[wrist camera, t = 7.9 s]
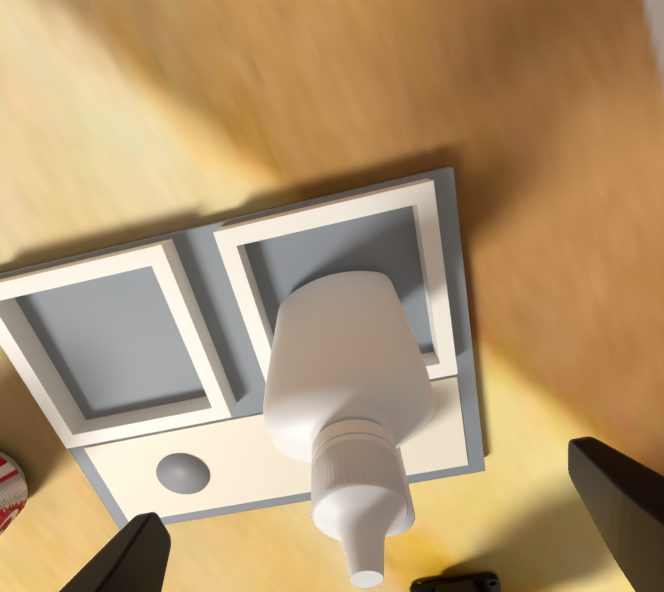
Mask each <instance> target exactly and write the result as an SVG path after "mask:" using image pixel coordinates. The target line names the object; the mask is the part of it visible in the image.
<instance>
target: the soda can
mask: <svg viewBox="0 0 664 592" xmlns="http://www.w3.org/2000/svg"><path fill="white" fill-rule="evenodd" d="M27 498H28V489H27V485H26V478H25V475H24V473H23V471H22V469H21V468H20V466H19V465H18V464H17V463H16V462H15V461H14V460H13V459H12V458H11V457H9V456H8V455H6V454H5V453H3V452H1V451H0V535H1V534H2V533H3V531H4V530H5V529H6V528H7V527H8V526H9V524H10V523H11V522H12V521H13V520H14V519H15V517H16V516H17V515H18V514H19V513H20V512H21V510H22V509H23V508H24V506H25V504H26V501H27Z"/></svg>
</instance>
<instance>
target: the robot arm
mask: <svg viewBox="0 0 664 592" xmlns="http://www.w3.org/2000/svg"><path fill="white" fill-rule="evenodd" d="M568 471H569V475H570V477H571V480H572V482H573V484H574V486H575V487H576V489H577V491H578V493H579V495H580V497H581V499H582V500H583V502H584V504H585V506H586V508H587V510H588V511H589V513H590V515H591V517H592V519H593V521H594V522H595V524H596V526H597V528H598V530H599V532H600V533H601V535H602V537H603V539H604V541H605V543H606V544H607V546H608V548H609V550H610V552H611V553H612V555H613V557H614V559H615V560H616V562H617V564H618V565H619V567H620V568H621V570H622V571H623V573H624V575H625V576H626V578H627V579H628V581H629V582H630V584H631V585H632V587H633V588H634V590H635V591H636V592H664V476H663V475H661V474H659V473H657V472H655V471H654V470H652V469H650V468H648V467H646V466H645V465H643V464H641V463H639V462H637V461H635V460H634V459H632V458H630V457H628V456H626V455H625V454H623V453H621V452H619V451H617V450H616V449H614V448H612V447H610V446H608V445H606V444H605V443H603V442H601V441H599V440H597V439H595V438H593V437H582V438H576V439H572V440H570V441H569V444H568ZM170 547H171V538H170V535H169V533H168V531H167V529H166V528H165V526H164V524H163V522H162V521H161V519H160V517H159V515H158V514H157V513H155V512H149V513H143V514H139V515H136V516H135V517H134V518H133V519H131V520H130V521H129V522H128V523H127V524H126V525H125V526H124V527H123V528H122V529H121V530H120V531H119V532H118V533H117V534H116V535H115V536H114V537H113V538H112V539H111V540H110V541H109V542H108V543H107V544H106V545H105V546H104V547H103V548H102V549H101V550H100V551H99V552H98V553H97V554H96V555H95V556H94V557H93V558H92V559H91V560H90V561H89V562H88V563H87V564H86V565H85V566H84V567H83V568H82V569H81V570H80V571H79V572H78V573H77V574H76V575H75V576H74V577H73V578H72V579H71V580H70V581H69V582H68V583H67V584H66V585H65V586H64V587H63V588H62V589H61V590H60V591H59V592H161V590H162V586H163V581H164V576H165V571H166V567H167V562H168V557H169V552H170ZM410 592H501V589H500V582H499V579H498V577H497V575H496V574H494V573H489V574H482V575H476V576H469V577H462V578H455V579H448V580H441V581H434V582H428V583H421V584H415V585H412V586H411V587H410Z"/></svg>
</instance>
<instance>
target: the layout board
mask: <svg viewBox="0 0 664 592" xmlns="http://www.w3.org/2000/svg"><path fill="white" fill-rule="evenodd" d="M349 271H374V272H380V273H382V274H384V275H386V276H388V277H389V279H390V280H391V282H392V284H393V286H394V289H395V291H396V293H397V296H398V298H399V301H400V303H401V306H402V308H403V310H404V313H405V315H406V318H407V320H408V323H409V325H410V328H411V330H412V333H413V335H414V337H415V340H416V342H417V345H418V347H419V350H420V353H421V355H422V358H423V361H424V363H425V366H426V369H427V372H428V375H429V378H430V382H431V386H432V390H433V395H434V401H435V411H434V415H433V418H432V419H431V421H430V422H429V423H428V425H427V426H426V427H425V428H424V429H423V430H422V431H420V432H419V433H418V434H417V435H416V436H414V437H413V438H411V439H410V440H409V441H407V442H406V443H405V444H403V445H401V446H400V447H398V448H397V449H396V451H397V455H398V460H399V464H400V468H401V473H402V477H403V481H404V486H405V490H406V494H407V499H408V503H409V504H408V505H409V508H408V509H409V511H408V514H407V517H406V518H405V520H404V522H403V523H402V524H401V525H400V526H399V527H398V528H397V529H396V530H395V531H393V532H392V533H390V534H388V535H387V536H394V535H398V534H401V533H403V532H405V531H407V530H408V529H409V528H410V527H411V526H412V525H413V523H414V521H415V512H414V507H413V503H412V498H411V494H410V489H409V485H408V484H409V483H415V482H421V481H427V480H433V479H439V478H445V477H451V476H457V475H463V474H469V473H475V472H480V471H485V463H484V453H483V444H482V434H481V425H480V415H479V406H478V397H477V387H476V378H475V368H474V359H473V349H472V340H471V330H470V321H469V311H468V302H467V292H466V283H465V273H464V264H463V254H462V245H461V235H460V226H459V216H458V207H457V197H456V188H455V178H454V169H453V167H444V168H439V169H435V170H431V171H427V172H423V173H418V174H414V175H410V176H406V177H402V178H397V179H393V180H389V181H385V182H381V183H376V184H372V185H368V186H364V187H360V188H355V189H351V190H347V191H343V192H339V193H334V194H330V195H326V196H322V197H318V198H313V199H309V200H305V201H301V202H297V203H292V204H288V205H284V206H280V207H276V208H271V209H267V210H263V211H259V212H255V213H250V214H246V215H242V216H238V217H234V218H229V219H225V220H221V221H217V222H213V223H208V224H204V225H200V226H196V227H192V228H187V229H183V230H179V231H175V232H171V233H166V234H162V235H158V236H154V237H150V238H145V239H141V240H137V241H133V242H129V243H124V244H120V245H116V246H112V247H108V248H103V249H99V250H95V251H91V252H87V253H82V254H78V255H74V256H70V257H66V258H61V259H57V260H53V261H49V262H45V263H40V264H36V265H32V266H28V267H24V268H19V269H15V270H11V271H7V272H3V273H0V345H1V346H2V348H3V350H4V351H5V353H6V354H7V356H8V358H9V359H10V361H11V362H12V364H13V365H14V367H15V369H16V370H17V372H18V373H19V375H20V376H21V378H22V380H23V381H24V383H25V384H26V386H27V388H28V389H29V391H30V392H31V394H32V395H33V397H34V399H35V400H36V402H37V403H38V405H39V406H40V408H41V410H42V411H43V413H44V414H45V416H46V418H47V419H48V421H49V422H50V424H51V425H52V427H53V429H54V430H55V432H56V433H57V435H58V436H59V438H60V440H61V441H62V443H63V444H64V446H65V448H66V449H69V450H70V452H71V453H72V455H73V457H74V458H75V460H76V461H77V463H78V465H79V466H80V468H81V469H82V471H83V473H84V474H85V476H86V477H87V479H88V480H89V482H90V484H91V485H92V487H93V488H94V490H95V492H96V493H97V495H98V496H99V498H100V499H101V501H102V503H103V504H104V506H105V507H106V509H107V511H108V512H109V514H110V515H111V517H112V519H113V520H114V522H115V523H116V525H117V526H118V528H119V530H121V529H122V528H123V527H124V526H125V525H126V524H127V523H128V522H129V521H130V520H131V519H133V518H134V517H135V516H136V515H139V514H143V513H149V512H155V513H157V514H158V515H159V517H160V519H161V521H162V522H163V524H164V525H166V524H172V523H178V522H184V521H190V520H196V519H202V518H208V517H214V516H219V515H225V514H231V513H237V512H243V511H249V510H255V509H261V508H267V507H273V506H279V505H285V504H291V503H297V502H303V501H308V500H311V463H307V462H303V461H299V460H295V459H292V458H290V457H287V456H286V455H284V454H283V453H282V452H281V451H279V450H278V448H277V447H276V445H275V444H274V442H273V440H272V438H271V436H270V434H269V432H268V431H267V428H266V426H265V423H264V419H263V402H264V394H265V387H266V380H267V374H268V368H269V362H270V356H271V350H272V344H273V338H274V333H275V327H276V321H277V315H278V310H279V307H280V305H281V303H282V302H283V300H284V299H286V298H287V297H288V296H289V295H290V294H292V293H293V292H294V291H296V290H297V289H299V288H300V287H302V286H304V285H306V284H308V283H310V282H312V281H314V280H316V279H319V278H322V277H325V276H328V275H332V274H336V273H341V272H349Z"/></svg>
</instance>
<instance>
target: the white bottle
mask: <svg viewBox="0 0 664 592" xmlns="http://www.w3.org/2000/svg"><path fill="white" fill-rule="evenodd" d="M434 411H435V401H434V395H433V390H432V386H431V382H430V378H429V375H428V372H427V369H426V366H425V363H424V361H423V358H422V355H421V353H420V350H419V347H418V345H417V342H416V340H415V337H414V335H413V333H412V330H411V328H410V325H409V323H408V320H407V318H406V315H405V313H404V310H403V308H402V306H401V303H400V301H399V298H398V296H397V293H396V291H395V289H394V286H393V284H392V282H391V280H390V279H389V277H388V276H386V275H384V274H382V273H380V272H374V271H349V272H341V273H336V274H332V275H328V276H325V277H322V278H319V279H316V280H314V281H312V282H310V283H308V284H306V285H304V286H302V287H300V288H299V289H297V290H296V291H294V292H293V293H292V294H290V295H289V296H288V297H287V298H286V299H284V300H283V302H282V303H281V305H280V307H279V310H278V315H277V321H276V327H275V333H274V338H273V344H272V350H271V356H270V362H269V368H268V374H267V380H266V387H265V394H264V402H263V419H264V423H265V426H266V428H267V431H268V432H269V434H270V436H271V438H272V440H273V442H274V444H275V445H276V447H277V448H278V450H279V451H281V452H282V453H283V454H284V455H286V456H287V457H290V458H292V459H295V460H299V461H303V462H307V463H311V517H312V520H313V522H314V524H315V525H316V527H317V528H318V529H319V530H320V531H321V532H323V533H324V534H326V535H327V536H329V537H331V538H334V539H337V540H340V541H341V543H342V546H343V550H344V554H345V558H346V563H347V567H348V571H349V575H350V579H351V583H352V584H353V585H355V586H357V587H360V588H370V587H374V586H377V585H379V584H380V583H381V582H382V581H383V578H384V541H385V536H387V535H388V534H390V533H392V532H393V531H395V530H396V529H397V528H398V527H399V526H400V525H401V524H402V523H403V522H404V520H405V518H406V517H407V514H408V511H409V509H408V508H409V505H408V504H409V503H408V499H407V494H406V490H405V486H404V481H403V477H402V473H401V468H400V464H399V460H398V455H397V451H396V449H397V448H398V447H400V446H401V445H403V444H405V443H406V442H407V441H409V440H410V439H411V438H413V437H414V436H416V435H417V434H418V433H419V432H420V431H422V430H423V429H424V428H425V427H426V426H427V425H428V423H429V422H430V421H431V419H432V418H433V415H434Z"/></svg>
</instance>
